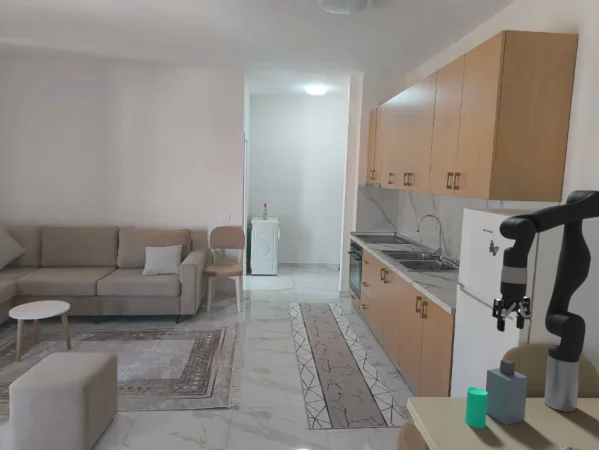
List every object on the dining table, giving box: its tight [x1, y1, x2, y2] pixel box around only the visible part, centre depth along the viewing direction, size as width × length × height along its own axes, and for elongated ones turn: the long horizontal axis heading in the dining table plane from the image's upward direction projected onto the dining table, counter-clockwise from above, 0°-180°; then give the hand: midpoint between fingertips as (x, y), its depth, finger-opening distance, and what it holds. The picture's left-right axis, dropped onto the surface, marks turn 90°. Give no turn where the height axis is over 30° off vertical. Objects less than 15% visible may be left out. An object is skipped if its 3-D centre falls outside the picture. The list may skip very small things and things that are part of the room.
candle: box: [465, 386, 488, 429], centre depth 133 cm, size 6×6×12 cm
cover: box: [485, 358, 528, 426], centre depth 138 cm, size 8×8×18 cm
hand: (510, 329), depth 137 cm, fingers open, 8 cm apart
